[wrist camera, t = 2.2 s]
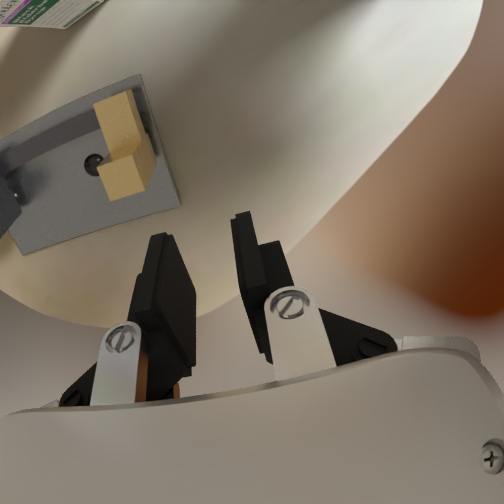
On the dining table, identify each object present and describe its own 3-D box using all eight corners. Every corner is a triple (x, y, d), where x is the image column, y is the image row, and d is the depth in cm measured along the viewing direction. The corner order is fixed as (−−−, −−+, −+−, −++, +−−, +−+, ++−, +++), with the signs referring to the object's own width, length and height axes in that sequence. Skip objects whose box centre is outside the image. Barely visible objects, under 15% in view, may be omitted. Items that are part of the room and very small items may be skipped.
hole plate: (140, 74, 25) (115, 82, 18) (181, 201, 33) (174, 247, 26) (-22, 155, 26) (-65, 186, 19) (25, 250, 34) (-3, 294, 27)
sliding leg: (134, 86, 25) (112, 98, 19) (158, 160, 29) (145, 190, 23) (105, 98, 25) (76, 113, 19) (129, 169, 29) (110, 201, 23)
